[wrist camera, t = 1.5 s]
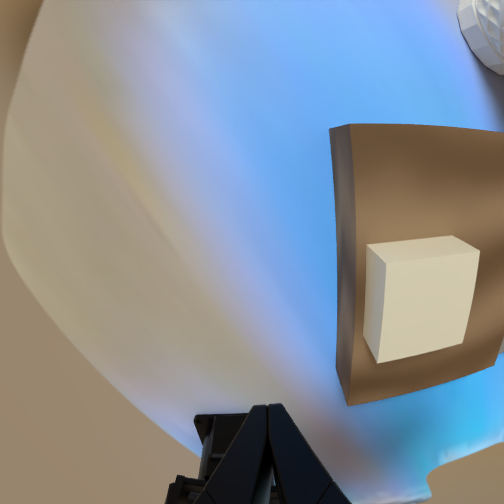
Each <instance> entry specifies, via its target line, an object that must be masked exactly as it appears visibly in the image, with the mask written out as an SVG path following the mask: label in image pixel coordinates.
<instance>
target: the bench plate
mask: <svg viewBox="0 0 504 504" xmlns="http://www.w3.org/2000/svg"><path fill="white" fill-rule="evenodd" d="M329 134H330V144H331V155H332V167H333V180H334V195H335V213H336V237H337V347H336V371H337V374H338V377H339V380H340V383H341V386H342V390H343V393H344V396H345V399H346V402H347V406H352V405H357V404H362V403H368V402H372V401H377V400H382V399H386V398H391V397H395V396H399V395H403V394H407V393H411V392H415V391H418V390H422V389H426V388H429V387H433V386H436V385H439V384H443V383H446V382H449V381H452V380H455V379H458V378H461V377H464V376H467V375H470V374H473V373H475V372H478V371H481V370H484V369H486V368H489V367H491V366H494V364H495V361H496V359H497V356H498V353H499V350H500V347H501V344H502V341H503V338H504V133H501V132H494V131H486V130H478V129H469V128H458V127H447V126H433V125H414V124H347V125H343V126H339V127H335V128H331V129H329ZM451 235H453V236H454V237H456V238H458V239H460V240H462V241H464V242H465V243H467V244H469V245H471V246H472V247H474V248H476V249H478V250H479V251H480V255H479V263H478V270H477V276H476V282H475V288H474V294H473V299H472V304H471V309H470V314H469V318H468V323H467V327H466V331H465V335H464V339H463V343H461V344H457V345H454V346H450V347H446V348H443V349H439V350H435V351H431V352H427V353H423V354H419V355H415V356H411V357H406V358H402V359H397V360H392V361H388V362H383V363H378V364H377V362H376V360H375V358H374V356H373V354H372V352H371V350H370V348H369V346H368V344H367V342H366V340H365V338H364V336H363V327H364V311H365V291H366V245H368V244H377V243H387V242H396V241H405V240H414V239H424V238H433V237H442V236H451Z"/></svg>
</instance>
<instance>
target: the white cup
mask: <svg viewBox="0 0 504 504" xmlns="http://www.w3.org/2000/svg"><path fill="white" fill-rule="evenodd" d="M457 15H458V19H459V24H460V28H461V32H462V33H463V35H464V37H465V39H466V41H467V43H468V44H469V46H470V48H471V50H472V51H473V52H474V54H475V55H476V56H477V57H478V58H479V59H480V60H481V62H482V63H483V64H484V65H485V66H486V67H488V68H489V69H491V70H492V71H494V72H496V73H497V74H499V75H504V0H460V2H459V6H458V11H457Z"/></svg>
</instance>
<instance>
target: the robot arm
mask: <svg viewBox="0 0 504 504" xmlns="http://www.w3.org/2000/svg"><path fill="white" fill-rule="evenodd" d="M194 424H195V427H196V429H197V432H198V435H199V437H200V440H201V442H202V445H203V451H202V457H201V463H200V470H199V476H198V479H194V478H187V477H185V476H182V475H177V477H176V481H175V483H171V484H169V489H168V494H167V498H166V501H165V504H352V503H351V502H350V501H349V500H348V499H347V497H346V496H345V495H344V494H343V492H342V491H341V490H340V488H339V487H338V486H337V484H336V483H335V482H334V481H333V479H332V477H331V476H330V474H329V473H328V472H327V470H326V469H325V467H324V466H323V465H322V463H321V462H320V460H319V459H318V457H317V456H316V454H315V453H314V451H313V450H312V449H311V447H310V446H309V444H308V443H307V441H306V440H305V438H304V437H303V435H302V434H301V432H300V431H299V429H298V428H297V426H296V425H295V423H294V422H293V420H292V419H291V417H290V416H289V414H288V412H287V411H286V409H285V408H284V406H283V405H282V404H281V403H277V404H269V405H268V407H267V405H254V406H253V407H252V408H251V410H250V412H249V413H242V414H211V415H196V416H195V417H194ZM273 474H274V477H273ZM274 479H275V484H276V486H274Z"/></svg>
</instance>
